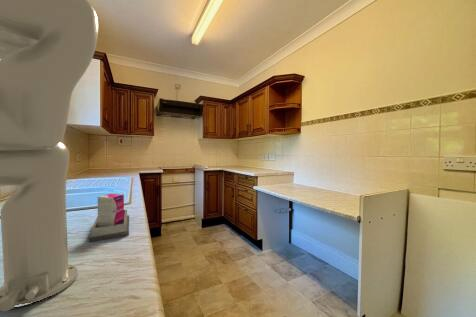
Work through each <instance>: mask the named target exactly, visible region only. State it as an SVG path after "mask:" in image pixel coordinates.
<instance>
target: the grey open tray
mask: <svg viewBox="0 0 476 317" xmlns="http://www.w3.org/2000/svg"><path fill="white" fill-rule="evenodd" d="M129 235H130V215H129V214H128V209H124V224H117V225H110V226H104V227H98V215H97V216H96V219H95V220H94V223H93V225H92V227H91V229H90V234H89V237H88V243H92V242H97V241H103V240H104V241H105V240H108V239H114V238H115V239H116V238H121V237H124V236H125V237H126V236H129Z"/></svg>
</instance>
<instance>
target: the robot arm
mask: <svg viewBox="0 0 476 317" xmlns="http://www.w3.org/2000/svg"><path fill="white" fill-rule="evenodd" d="M98 35H99V20H98V16H97V13H96V10H95V9H94V7H93V6H92V4H91V3H90V2H89V1H88V0H0V187H5V186H6V187H7V186H13V187H14V186H19V188H18V189H17V190H16V191H15V192H14V193H12V195H10V197H8V198H7V199H6V200H5V202H4V203H3V205H2V207H1V210H0V228H1V245H2V246H1V248H2V263H3V279H4V280H3V281H4V284H3V285H2V286H1V287H0V311H1V312H7V311H10V310H12V309H14V308H13V307H14V306H15V305H19V304H25V303H31V302H35V301H38V300H42V299H44V298H46V299H48V298H47V297H49V296H51V297H53V296H55V295H57V294H58V293H61V291H64V290H65V289H66V288H68V287H69V286H70V285H71V284H72V283H74V281H75V280H76V279H77V276H78V268H77V267H76V266H75V265H73V264H69V253H68V252H69V251H68V246H69V245H68V228H67V227H68V226H67V225H68V224H67V203H66V201H67V200H66V194H67V193H66V188H67V178H68V170H69V166H70V165H69V164H70V151H69V149H68V147H67V145H65V143H63V142H62V141H63V138H64V136H65V134H66V130H67V123H68V118H69V111H70V106H71V100H72V95H73V92H74V89H75V88H76V86H77V84H78V83H79V82H80V80H81V78H82V77H83V76H84V75H85V73H86V72H87V69H88V68H89V66H90V64H91V62H92V61H93V57H94V55H95V52H96V47H97V44H98V37H99V36H98ZM56 293H57V294H56ZM54 294H55V295H54ZM52 295H53V296H52ZM49 298H50V297H49ZM44 300H45V299H44ZM42 301H43V300H42Z"/></svg>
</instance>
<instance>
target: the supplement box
mask: <svg viewBox="0 0 476 317" xmlns="http://www.w3.org/2000/svg"><path fill="white" fill-rule="evenodd" d="M124 210H125V195H124V194H121V193H120V194H119V193H108V194H105V195H100V196H97V216H98V227H104V226H110V225H117V224H124Z"/></svg>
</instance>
